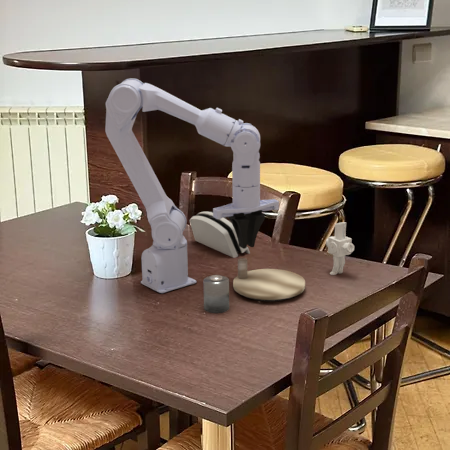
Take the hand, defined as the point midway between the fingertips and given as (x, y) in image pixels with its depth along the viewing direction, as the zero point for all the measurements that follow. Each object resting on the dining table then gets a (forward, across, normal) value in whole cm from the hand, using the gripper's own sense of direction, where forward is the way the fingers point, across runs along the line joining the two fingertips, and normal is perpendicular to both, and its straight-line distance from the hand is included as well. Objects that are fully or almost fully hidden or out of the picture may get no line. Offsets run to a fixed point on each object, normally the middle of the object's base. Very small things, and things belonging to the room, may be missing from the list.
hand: (246, 246), depth 164 cm
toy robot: (+9, -20, +5) cm, 23 cm away
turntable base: (+8, -2, +6) cm, 10 cm away
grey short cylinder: (+8, +11, +9) cm, 17 cm away
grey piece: (+9, -5, -24) cm, 26 cm away
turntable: (+8, -2, +6) cm, 10 cm away
